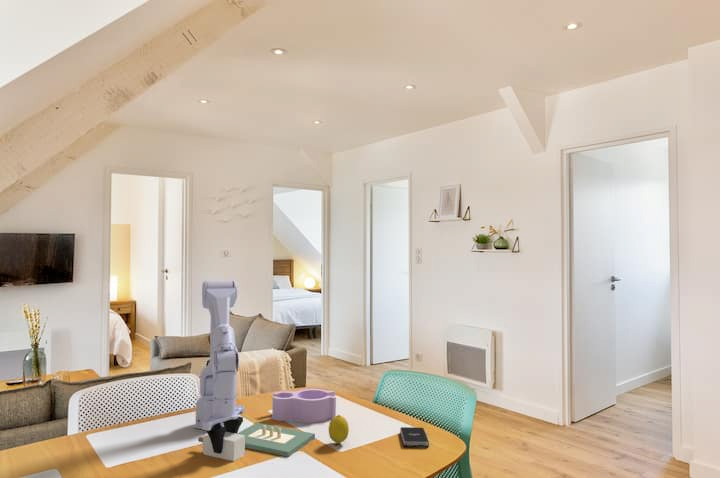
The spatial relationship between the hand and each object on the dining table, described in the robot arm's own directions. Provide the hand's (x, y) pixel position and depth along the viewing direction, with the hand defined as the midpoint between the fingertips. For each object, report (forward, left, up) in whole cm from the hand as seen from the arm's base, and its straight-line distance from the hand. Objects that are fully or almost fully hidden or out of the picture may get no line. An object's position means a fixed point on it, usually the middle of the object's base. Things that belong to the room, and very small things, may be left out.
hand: (223, 449), depth 128 cm
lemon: (+24, +19, -2) cm, 31 cm away
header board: (+6, +13, -1) cm, 14 cm away
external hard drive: (+42, +31, -2) cm, 52 cm away
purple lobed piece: (+4, +35, -2) cm, 35 cm away
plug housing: (-2, 0, -1) cm, 2 cm away
